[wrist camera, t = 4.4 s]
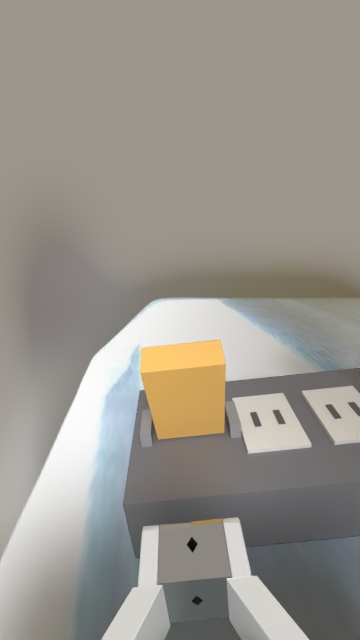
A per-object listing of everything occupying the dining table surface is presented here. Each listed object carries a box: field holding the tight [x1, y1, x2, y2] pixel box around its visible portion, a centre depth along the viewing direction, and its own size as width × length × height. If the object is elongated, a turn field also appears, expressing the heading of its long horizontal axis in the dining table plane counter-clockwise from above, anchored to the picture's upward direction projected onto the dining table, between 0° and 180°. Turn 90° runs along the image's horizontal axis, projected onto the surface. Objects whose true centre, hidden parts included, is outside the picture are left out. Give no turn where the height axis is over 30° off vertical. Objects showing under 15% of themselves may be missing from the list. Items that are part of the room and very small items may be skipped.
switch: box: [140, 340, 226, 440], centre depth 22 cm, size 5×2×8 cm, turn 92°
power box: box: [123, 368, 360, 558], centre depth 26 cm, size 27×12×6 cm, turn 92°
